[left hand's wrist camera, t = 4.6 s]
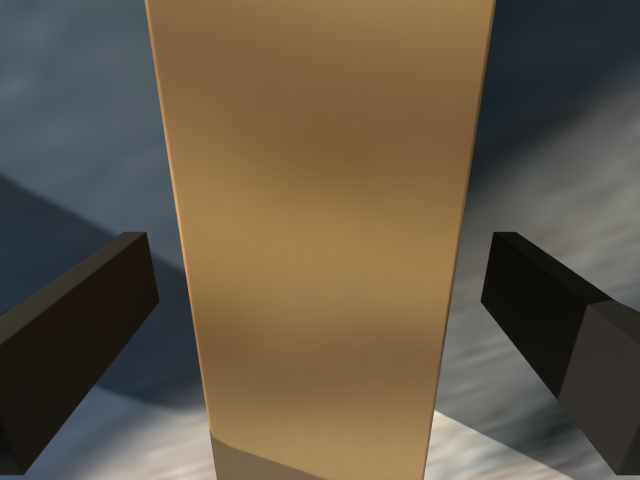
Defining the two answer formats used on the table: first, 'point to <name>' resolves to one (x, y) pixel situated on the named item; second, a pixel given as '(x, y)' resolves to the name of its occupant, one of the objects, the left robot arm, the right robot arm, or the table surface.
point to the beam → (320, 219)
